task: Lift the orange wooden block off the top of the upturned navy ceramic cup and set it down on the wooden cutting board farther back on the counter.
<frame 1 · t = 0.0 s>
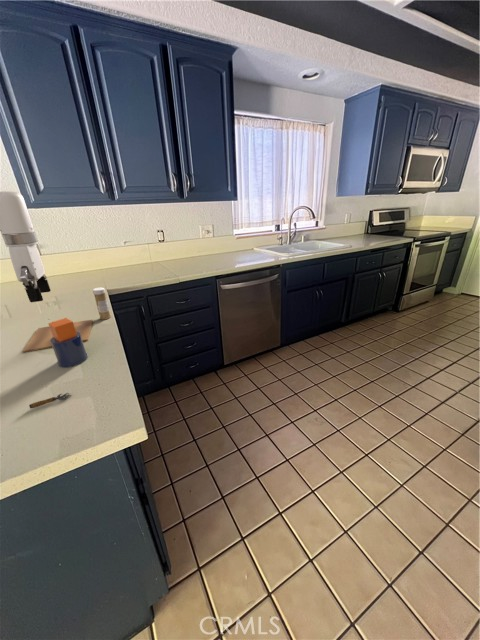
hand: (41, 296, 82), 20 cm above the worktop, tool pointing down, fingers open, 9 cm apart
wooden cutting board: (62, 334, 103), on the worktop
sprinkles bottle: (105, 318, 117), on the worktop
orange block: (65, 336, 82), point 8 cm above the worktop, touching navy cup
navy cup: (73, 360, 86), on the worktop
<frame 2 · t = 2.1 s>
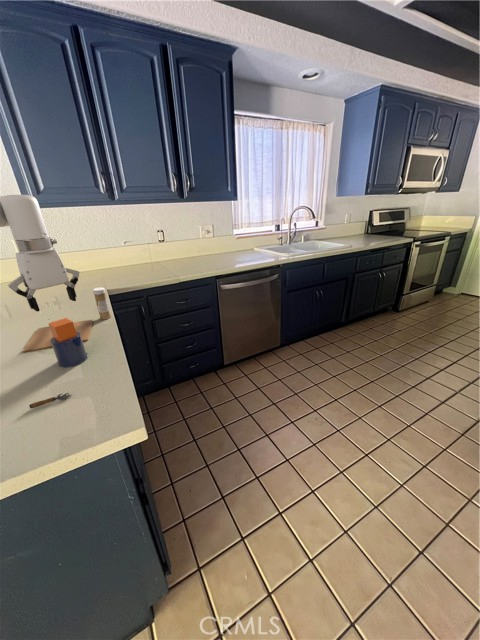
hand: (55, 305, 78), 19 cm above the worktop, tool pointing down, fingers open, 9 cm apart
nothing on the worktop moved.
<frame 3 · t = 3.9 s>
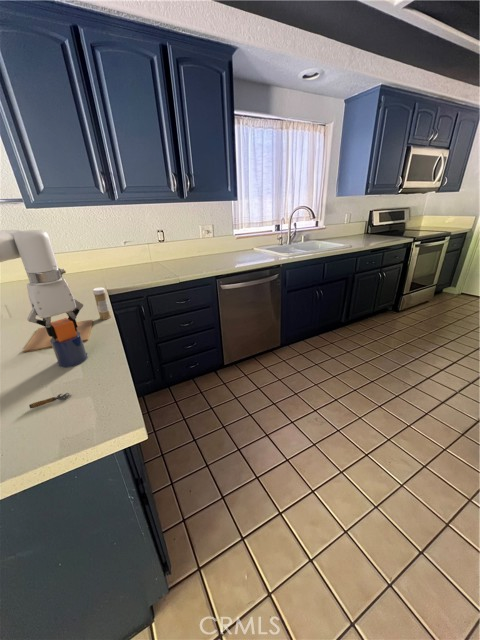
hand: (64, 333, 82), 10 cm above the worktop, tool pointing down, fingers closed on orange block, 5 cm apart
orange block: (65, 336, 82), point 9 cm above the worktop, touching gripper, navy cup
everything else where it was.
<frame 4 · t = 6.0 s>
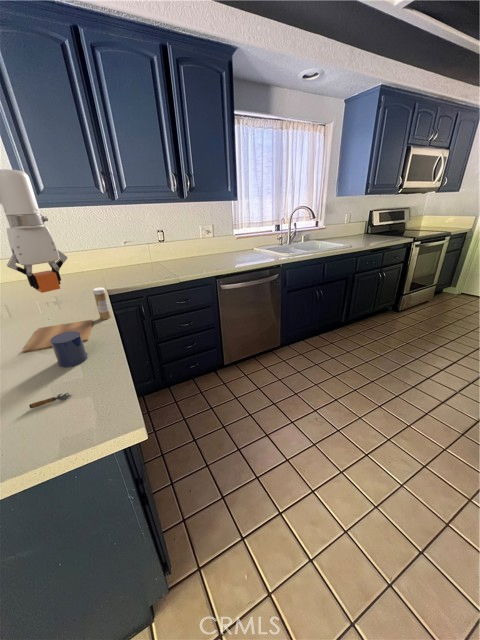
hand: (47, 285, 79), 24 cm above the worktop, tool pointing down, fingers closed on orange block, 5 cm apart
orange block: (48, 289, 80), point 23 cm above the worktop, touching gripper
everything else where it was.
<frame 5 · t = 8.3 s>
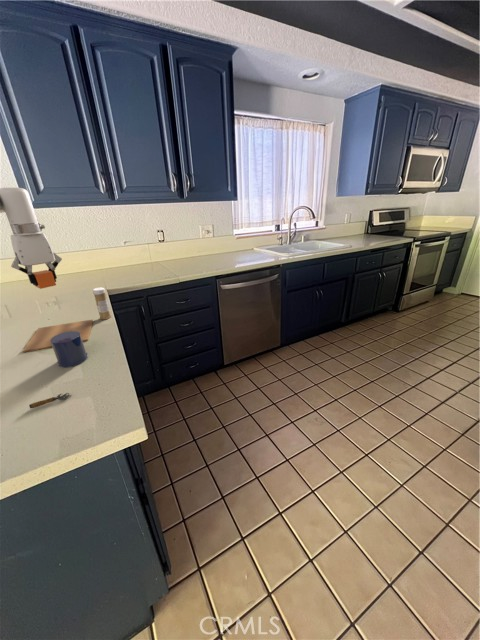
hand: (44, 282, 94), 21 cm above the worktop, tool pointing down, fingers closed on orange block, 5 cm apart
orange block: (45, 285, 94), point 20 cm above the worktop, touching gripper
everything else where it was.
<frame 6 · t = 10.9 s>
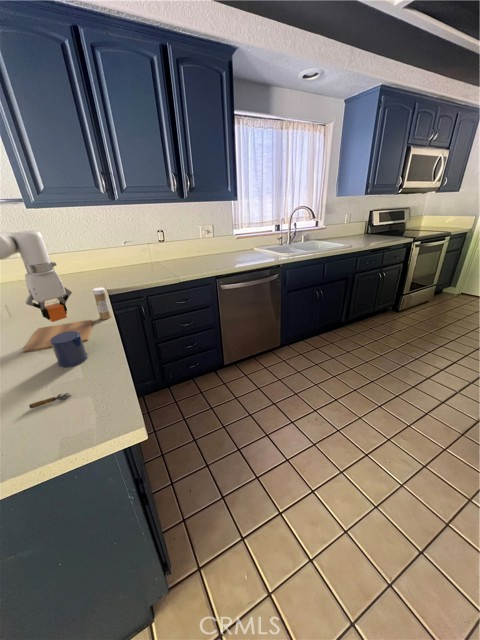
hand: (56, 315, 100), 8 cm above the worktop, tool pointing down, fingers closed on orange block, 5 cm apart
orange block: (57, 318, 100), point 7 cm above the worktop, touching gripper
everything else where it was.
when the fingers open (2 cm above the worktop, at t = 12.8 s): orange block stays where it is, resting on wooden cutting board.
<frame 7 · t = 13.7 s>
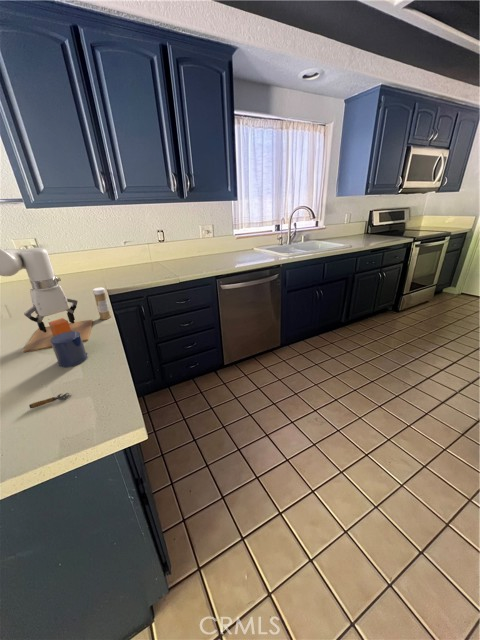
hand: (58, 326, 101), 4 cm above the worktop, tool pointing down, fingers open, 9 cm apart
orange block: (62, 333, 103), point 1 cm above the worktop, touching wooden cutting board
everything else where it was.
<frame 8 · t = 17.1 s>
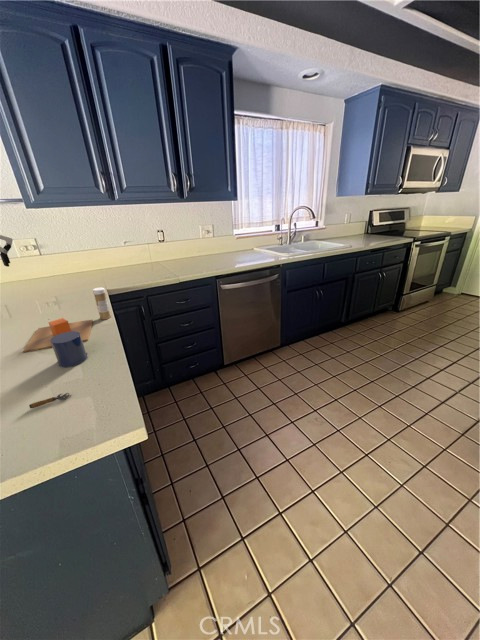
nothing on the worktop moved.
at the end: orange block inside the target area on the wooden cutting board (0.1 cm from its centre), point 0.6 cm above the wooden cutting board's base; orange block touching wooden cutting board; orange block tilted 0° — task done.
